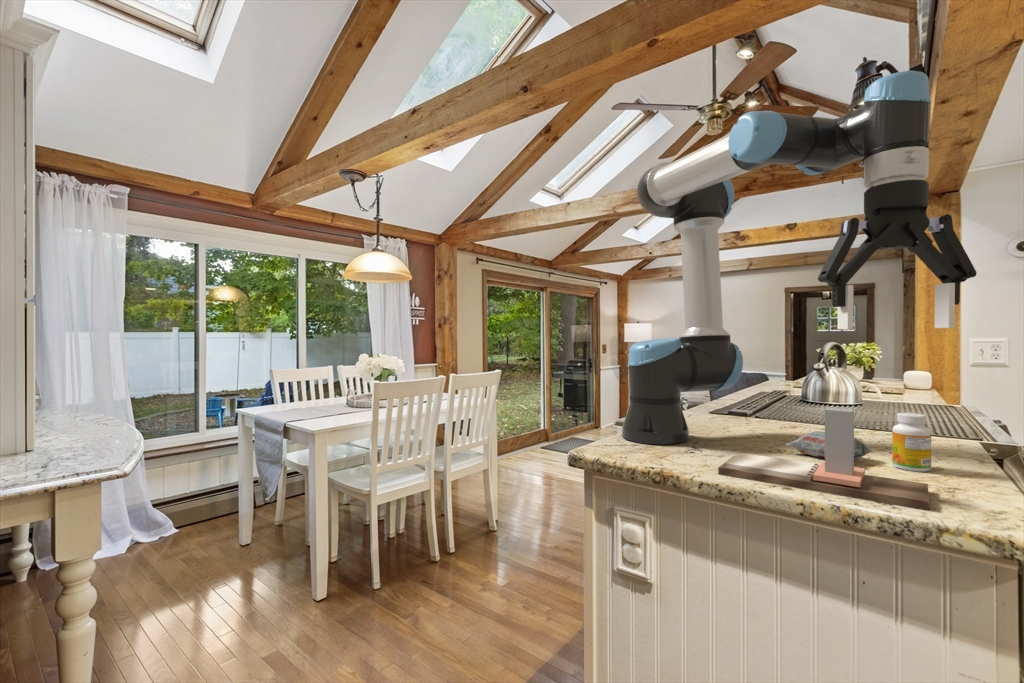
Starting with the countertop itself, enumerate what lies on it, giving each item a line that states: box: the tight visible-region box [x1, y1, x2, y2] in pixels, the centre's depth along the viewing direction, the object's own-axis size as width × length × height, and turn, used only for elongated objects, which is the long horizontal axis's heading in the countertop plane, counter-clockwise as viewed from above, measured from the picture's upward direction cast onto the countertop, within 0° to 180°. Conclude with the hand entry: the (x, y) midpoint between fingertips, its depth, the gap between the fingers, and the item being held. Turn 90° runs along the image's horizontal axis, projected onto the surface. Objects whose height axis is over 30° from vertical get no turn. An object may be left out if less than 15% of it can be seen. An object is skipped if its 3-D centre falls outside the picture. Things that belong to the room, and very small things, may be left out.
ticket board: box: [717, 452, 930, 511], centre depth 79 cm, size 28×10×2 cm, turn 50°
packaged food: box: [785, 430, 873, 460], centre depth 94 cm, size 9×12×5 cm
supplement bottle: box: [891, 412, 932, 473], centre depth 86 cm, size 5×5×10 cm
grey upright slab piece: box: [813, 406, 866, 487], centre depth 77 cm, size 6×9×11 cm, turn 140°
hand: (894, 328), depth 71 cm, fingers open, 13 cm apart
